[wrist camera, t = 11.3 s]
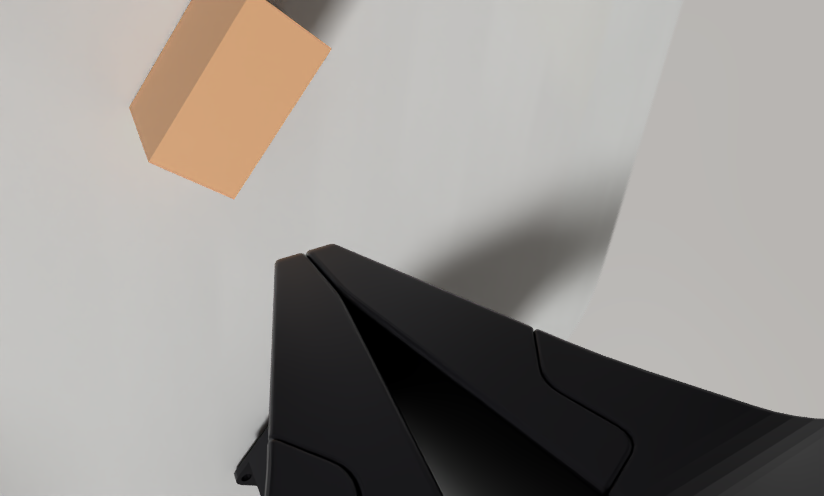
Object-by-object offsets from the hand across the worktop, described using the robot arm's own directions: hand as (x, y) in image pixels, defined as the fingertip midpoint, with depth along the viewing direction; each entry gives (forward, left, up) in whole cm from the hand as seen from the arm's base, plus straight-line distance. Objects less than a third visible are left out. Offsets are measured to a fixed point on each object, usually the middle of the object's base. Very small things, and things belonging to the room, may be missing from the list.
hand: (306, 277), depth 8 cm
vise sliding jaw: (-1, 0, -13) cm, 13 cm away
